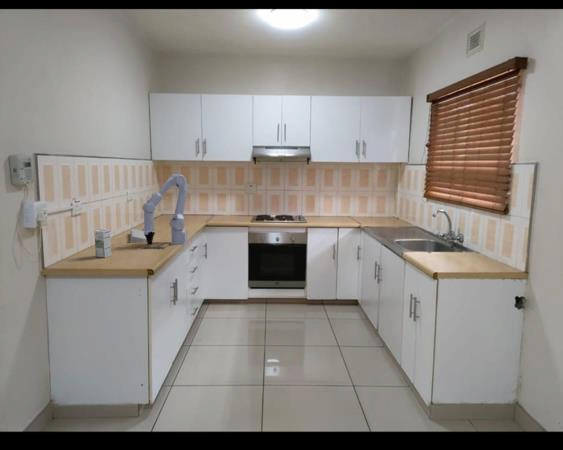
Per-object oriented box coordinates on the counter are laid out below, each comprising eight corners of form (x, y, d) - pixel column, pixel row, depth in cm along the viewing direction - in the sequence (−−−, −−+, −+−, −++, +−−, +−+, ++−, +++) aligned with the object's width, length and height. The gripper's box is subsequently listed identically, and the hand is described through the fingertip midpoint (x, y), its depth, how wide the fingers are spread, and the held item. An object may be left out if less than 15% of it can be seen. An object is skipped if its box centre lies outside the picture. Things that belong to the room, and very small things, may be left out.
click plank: (160, 244, 248) (159, 242, 248) (153, 248, 234) (153, 246, 234) (148, 244, 248) (148, 242, 248) (141, 248, 234) (141, 246, 234)
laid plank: (170, 244, 248) (170, 242, 248) (164, 248, 234) (164, 246, 234) (160, 244, 248) (160, 242, 248) (153, 248, 234) (153, 246, 234)
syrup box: (111, 255, 216) (110, 229, 214) (104, 258, 210) (103, 231, 208) (102, 255, 217) (101, 229, 215) (95, 257, 212) (93, 230, 210)
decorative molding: (144, 237, 288) (129, 234, 284) (145, 231, 288) (131, 228, 284) (146, 246, 257) (130, 243, 253) (148, 239, 257) (132, 236, 253)
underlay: (171, 244, 249) (171, 244, 249) (164, 249, 233) (164, 249, 233) (148, 244, 249) (148, 243, 249) (140, 249, 233) (140, 249, 233)
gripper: (146, 220, 247) (146, 241, 249) (138, 224, 233) (139, 246, 235) (157, 220, 247) (158, 242, 249) (150, 224, 233) (151, 246, 235)
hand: (149, 244), depth 242 cm, fingers closed, pressing on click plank
